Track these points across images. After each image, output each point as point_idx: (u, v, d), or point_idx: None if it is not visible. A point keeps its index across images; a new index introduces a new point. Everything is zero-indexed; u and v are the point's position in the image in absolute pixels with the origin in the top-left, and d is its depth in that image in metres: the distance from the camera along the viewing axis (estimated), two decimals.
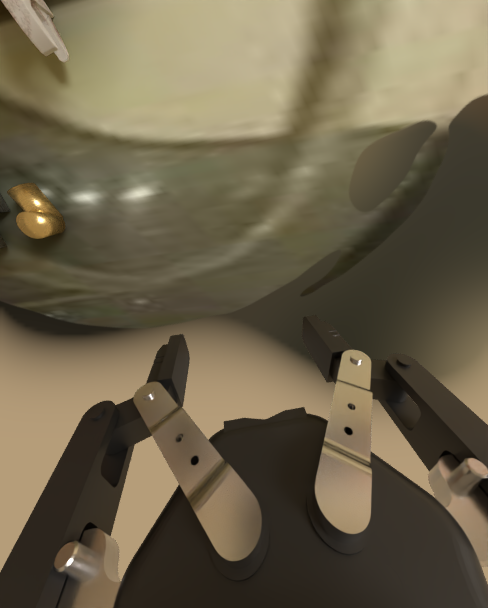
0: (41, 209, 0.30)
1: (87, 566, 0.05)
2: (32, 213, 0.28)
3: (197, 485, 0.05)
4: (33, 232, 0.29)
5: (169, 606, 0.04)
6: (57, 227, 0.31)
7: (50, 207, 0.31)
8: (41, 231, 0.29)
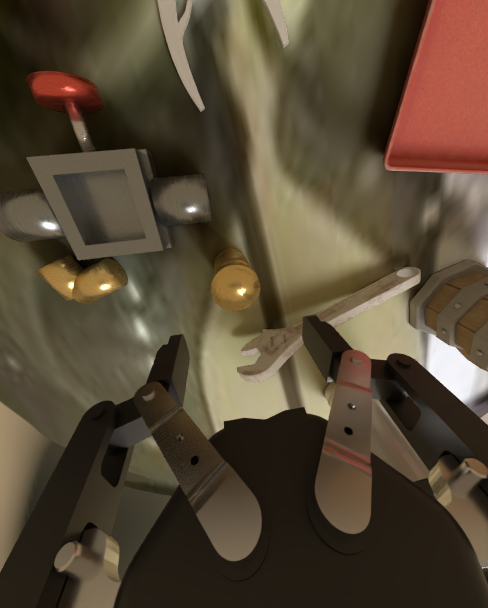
0: (76, 278, 0.22)
1: (87, 565, 0.05)
2: (54, 263, 0.21)
3: (197, 485, 0.05)
4: None
5: (169, 606, 0.04)
6: (54, 288, 0.22)
7: (80, 288, 0.22)
8: None
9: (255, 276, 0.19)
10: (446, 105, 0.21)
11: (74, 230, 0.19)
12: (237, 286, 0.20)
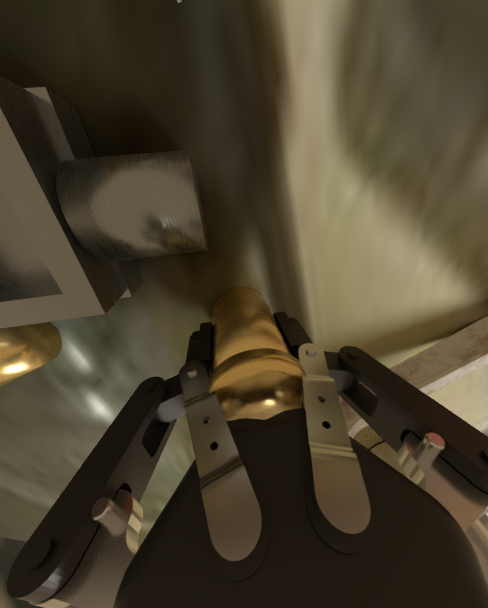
0: None
1: (115, 523, 0.06)
2: None
3: (210, 470, 0.06)
4: None
5: (169, 606, 0.04)
6: None
7: None
8: None
9: None
10: None
11: None
12: (263, 399, 0.09)
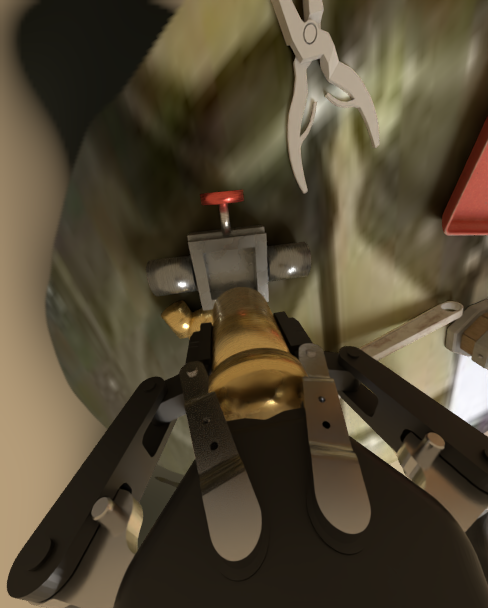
0: (191, 321, 0.27)
1: (114, 523, 0.06)
2: (179, 310, 0.26)
3: (210, 470, 0.06)
4: (168, 308, 0.28)
5: (169, 606, 0.04)
6: (173, 329, 0.28)
7: (195, 329, 0.27)
8: (165, 314, 0.27)
9: None
10: None
11: (206, 290, 0.24)
12: (263, 399, 0.09)
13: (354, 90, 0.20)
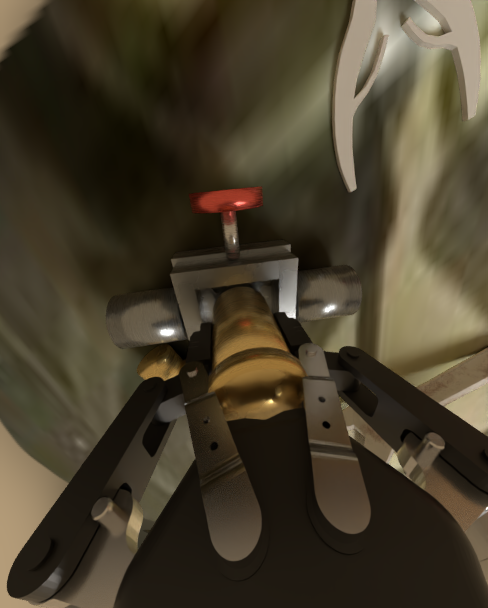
0: None
1: (115, 523, 0.06)
2: (162, 365, 0.18)
3: (210, 470, 0.06)
4: (149, 357, 0.20)
5: (169, 606, 0.04)
6: None
7: None
8: (142, 367, 0.19)
9: None
10: None
11: None
12: (263, 398, 0.09)
13: (453, 15, 0.12)
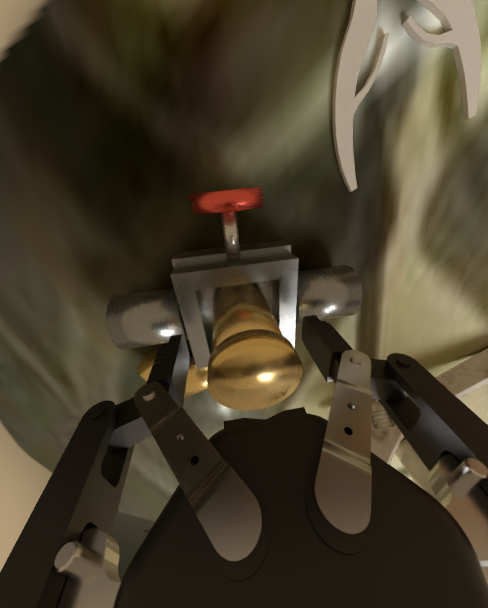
0: None
1: (87, 565, 0.05)
2: None
3: (197, 485, 0.05)
4: (149, 357, 0.20)
5: (169, 606, 0.04)
6: None
7: (186, 389, 0.19)
8: (142, 367, 0.19)
9: (295, 357, 0.10)
10: None
11: (202, 341, 0.16)
12: (258, 374, 0.10)
13: (454, 13, 0.12)
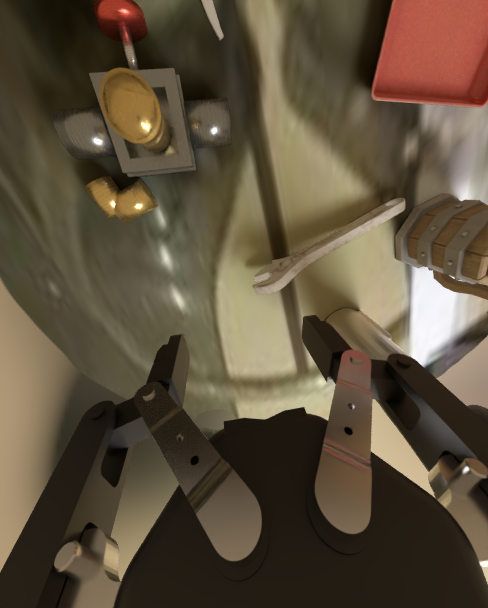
0: (117, 195, 0.27)
1: (87, 565, 0.05)
2: (101, 179, 0.25)
3: (197, 485, 0.05)
4: None
5: (169, 606, 0.04)
6: (99, 204, 0.27)
7: (121, 204, 0.27)
8: None
9: (150, 89, 0.17)
10: (420, 44, 0.26)
11: (121, 143, 0.23)
12: (131, 102, 0.18)
13: None
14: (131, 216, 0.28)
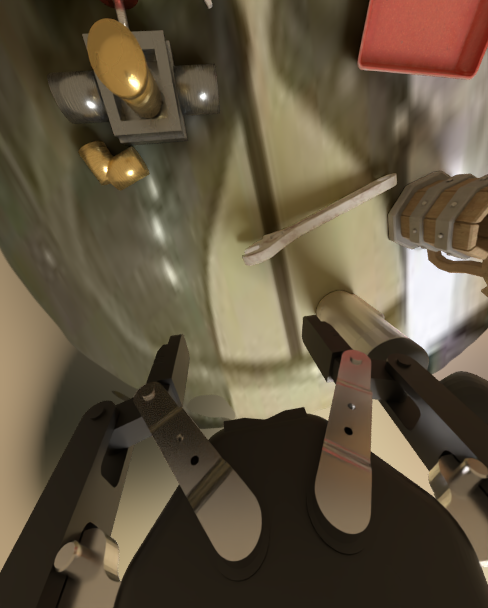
0: (110, 160, 0.28)
1: (87, 565, 0.05)
2: (93, 142, 0.26)
3: (197, 485, 0.05)
4: None
5: (169, 606, 0.04)
6: (92, 169, 0.28)
7: (113, 169, 0.28)
8: None
9: (135, 40, 0.18)
10: (407, 16, 0.26)
11: (113, 105, 0.24)
12: (117, 53, 0.19)
13: None
14: (123, 182, 0.29)
